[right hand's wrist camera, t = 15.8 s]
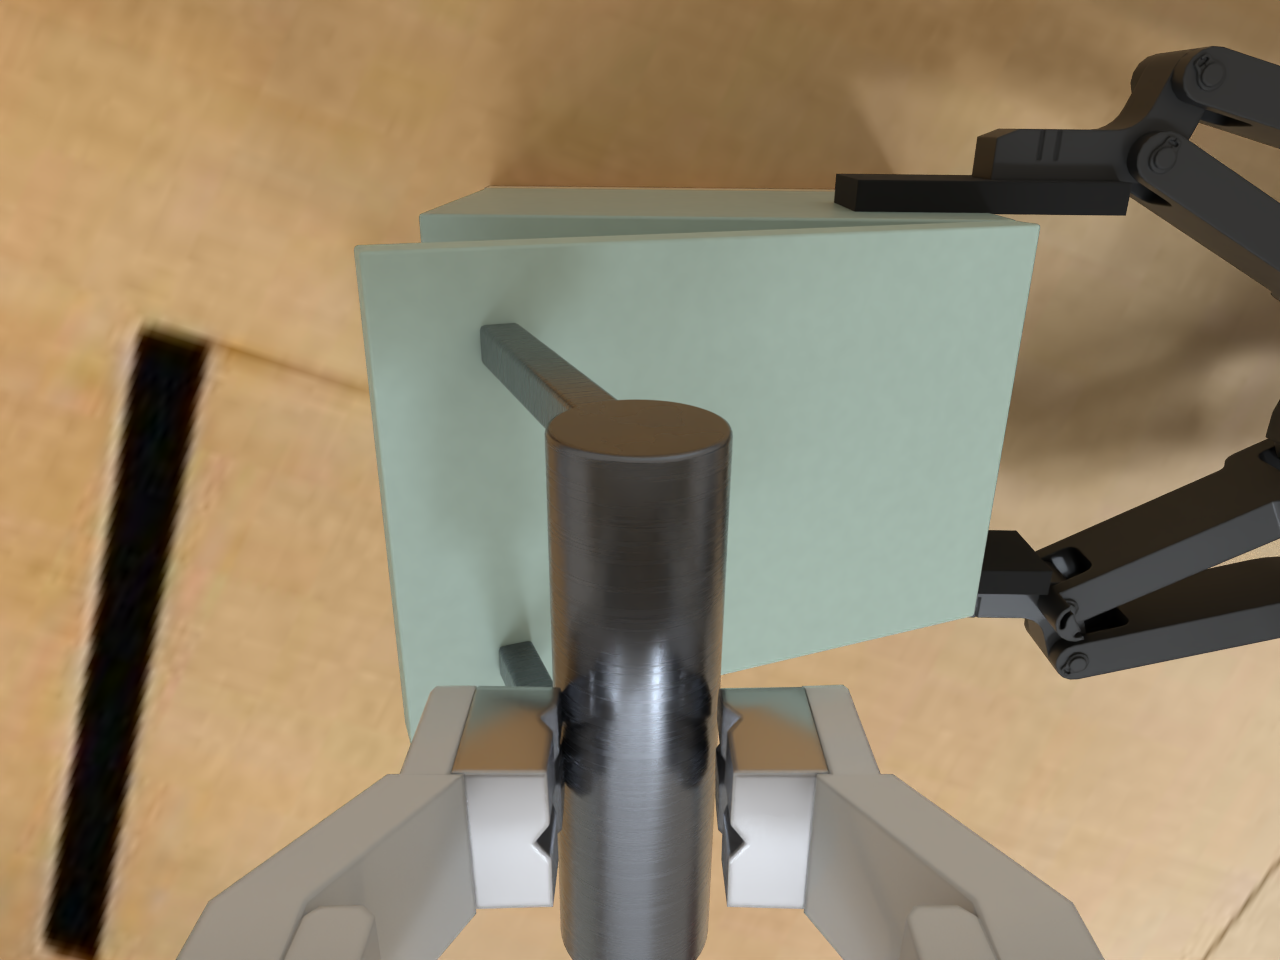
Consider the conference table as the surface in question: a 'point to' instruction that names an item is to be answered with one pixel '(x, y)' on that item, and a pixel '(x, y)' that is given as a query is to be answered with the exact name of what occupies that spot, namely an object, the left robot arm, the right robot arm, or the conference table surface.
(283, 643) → the conference table surface
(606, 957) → the lid
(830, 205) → the chest
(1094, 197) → the left robot arm
